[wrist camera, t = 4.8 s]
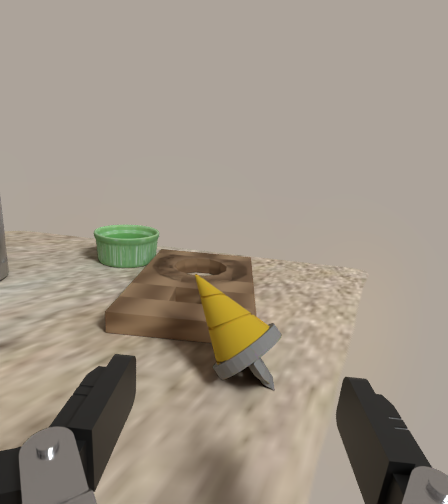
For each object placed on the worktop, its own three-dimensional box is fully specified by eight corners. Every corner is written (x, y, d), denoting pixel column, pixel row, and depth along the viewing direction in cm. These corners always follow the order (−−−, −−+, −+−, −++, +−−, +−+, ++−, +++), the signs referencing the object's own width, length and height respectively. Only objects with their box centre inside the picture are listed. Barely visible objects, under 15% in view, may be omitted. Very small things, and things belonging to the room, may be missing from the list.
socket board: (105, 332, 28) (105, 311, 27) (161, 262, 47) (161, 249, 46) (254, 347, 27) (257, 326, 27) (249, 270, 47) (250, 257, 46)
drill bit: (243, 428, 20) (156, 293, 21) (242, 401, 25) (173, 295, 27) (313, 377, 20) (223, 248, 22) (298, 361, 25) (226, 258, 27)
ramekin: (161, 252, 52) (162, 226, 51) (154, 272, 43) (154, 240, 42) (105, 249, 51) (104, 222, 50) (85, 268, 42) (84, 236, 41)
